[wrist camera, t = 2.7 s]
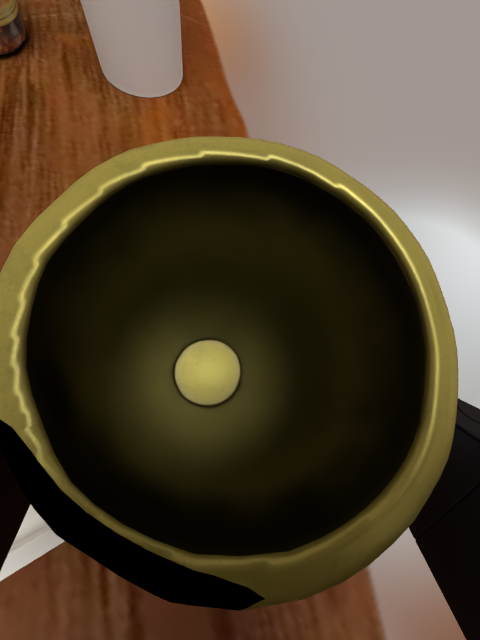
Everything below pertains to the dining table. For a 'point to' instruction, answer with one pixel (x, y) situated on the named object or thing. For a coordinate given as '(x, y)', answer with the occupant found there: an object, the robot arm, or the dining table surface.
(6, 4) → the sauce bottle
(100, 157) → the dining table surface
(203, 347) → the vase
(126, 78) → the cylindrical container
